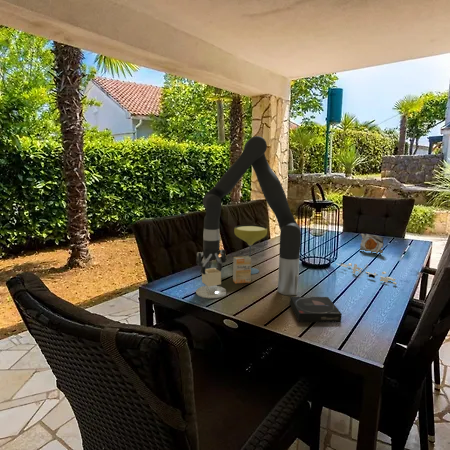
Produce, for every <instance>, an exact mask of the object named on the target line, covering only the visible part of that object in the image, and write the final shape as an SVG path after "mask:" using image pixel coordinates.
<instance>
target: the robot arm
mask: <svg viewBox="0 0 450 450" xmlns="http://www.w3.org/2000/svg"><path fill="white" fill-rule="evenodd" d="M243 146H244V147H243V151H242V152H241V154H240V155H239V156H238V158H237V160H235V162H234V163H233V164H232V165H231V166H230V167H229V168H228V169H227V170H226V171H225V173H224V174H223V175H222V176H221V178H220V179H219V181H217V183H216V184H215V185H214V186H213V187H212V188H211V189H209V190H208V192H206V194H205V195H204V196H203V199H202V204H203V206H204V208H205V216H204V218H203V232H202V233H203V241H202V242H203V243H202V245H203V246H202V247H203V251H202V252H201V251H200V252H199V251H197V252H196V265H198V266H199V267H200V272H201V275H202V274H205V269H206V265H207V264H208V263H209V261H212V260H213V261H216V262H217V264H216V265H217V266H216V267H217V268H216V269H217V270H219V271H220V272H221V273H222V269H223V268H222V265H223V263H224V264H225V263H226V262H227V261H226V260H227V259H226V258H227V250H225V249H224V248H222V249H220V248H221V247H220V245H221V243H220V242H221V232H220V217H221V213H222V199H223V198H224V197H225V196H228V195H229V194H230V193H231V191H233V189H234V188H235V187H236V185H237V184H238V182H239V181H240V180H241V178H242V177H243V176H244V174H245V173H246V172H247V171H248V169H249V168H250V167H252V169H253V171H254V174H255V176H256V180H257V181H258V184H259V187H260V189H261V192H262V195H263V197H264V198H265V202H266V203H267V205H268V206H269V208H270V210H271V211H272V213H273V214H274V215H275V218H276V221H277V223H278V224H277V225H278V226H279V230H280V234H279V252H278V253H279V255H278V256H279V257H278V279H277V283H278V284H277V292H278V293H279V294H281V295H285V296H297V295H298V292H299V280H300V278H299V277H300V273H299V272H300V270H299V269H300V268H299V267H300V253H301V243H302V242H301V241H302V230H301V228H300V225H299V224H298V222H297V221H296V219H295V217H294V215H293V213H292V212H291V209H290V205H289V202H288V199H287V195H286V193H285V191H284V188H283V185H282V183H281V180H280V179H279V177H278V176H277V174H276V173H275V172H274V171H273V169H272V168H271V166H270V165H269V162H268V159H267V157H266V154H265V153H266V152H267V148H268V144H267V141H266V140H265V138H263V136H259V135H255V136H252V137H250V138H249V139H248V140H247V141H246V142H245V144H244V145H243ZM219 255H220V256H219ZM202 257H203V258H202Z"/></svg>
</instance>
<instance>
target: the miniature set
mask: <svg viewBox="0 0 450 450" xmlns="http://www.w3.org/2000/svg"><path fill="white" fill-rule="evenodd" d="M335 264H336V265H339V266H341V267H344V268H346V269H347V268H348V267H350V266H351V267H350V268H352V269H351V271H352V273H354V274H355V275H356V272H359V273H362V271H363V268H362V267H358V264H357V263H354V265H353V263H351V262H349V263H348V264H345V263H343V262H342V263H341V262H340V264H339V263H335ZM352 265H353V266H352ZM356 269H358V270H356ZM360 269H361V270H362V271H361V270H360ZM359 270H360V271H359ZM367 273H368V274H367ZM376 273H377V272H374V273H372V272H367V271H366V273H365V274H366V276H367V275H368V277H369V278H372V279H375V277H376V276H377V277H380V279H379V280H380V281H379V282H381V281H384V282H386V283H389V282H388V280H392V281H395V280H397V279H396V278H394V279H393V277H390V276H386V277H385V276H382V275H386V274H387V272H386V271H381V274H382V275H378V274H376ZM384 282H383V283H384ZM392 284H393V285H397V284H398V283H397V282H393V283H392Z"/></svg>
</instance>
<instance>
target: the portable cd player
mask: <svg viewBox="0 0 450 450" xmlns="http://www.w3.org/2000/svg"><path fill="white" fill-rule="evenodd" d="M289 305H290V308H291V310H292V311H293V313H294V315H295V317H296V319H297V321H298V323H342V313H341V311H340V309H338V307H337V306H336V305H335V304H334V303H333V301H332V300H331V299H330V298H329V297H328V296H290V298H289Z"/></svg>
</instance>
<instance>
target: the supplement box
mask: <svg viewBox="0 0 450 450" xmlns="http://www.w3.org/2000/svg"><path fill="white" fill-rule="evenodd" d="M232 261H233V264H232V267H233V268H232V282H233V283H234V284H235V285H236V284H245V283H249V284H250V283H251V279H252V278H251V277H252V276H251V275H252V274H251V268H252V258H250V257H249V255H246V256H245V255H244V256H243V255H242V256H233V260H232Z"/></svg>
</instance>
